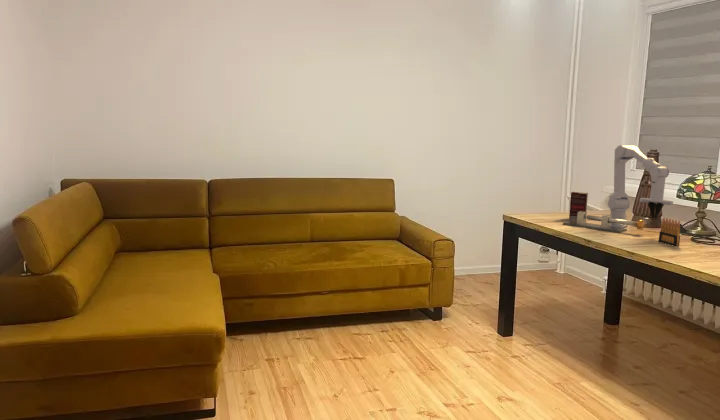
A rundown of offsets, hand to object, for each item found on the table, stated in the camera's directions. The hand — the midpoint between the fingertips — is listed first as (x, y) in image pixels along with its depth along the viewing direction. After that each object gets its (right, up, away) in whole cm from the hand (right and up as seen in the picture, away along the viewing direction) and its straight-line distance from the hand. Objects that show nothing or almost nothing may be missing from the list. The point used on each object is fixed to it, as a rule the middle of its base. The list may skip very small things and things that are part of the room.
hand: (654, 217), depth 274 cm
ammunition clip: (-1, -12, -15) cm, 20 cm away
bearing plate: (-21, -5, +22) cm, 30 cm away
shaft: (-14, -4, +14) cm, 20 cm away
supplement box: (-21, -2, +44) cm, 49 cm away
